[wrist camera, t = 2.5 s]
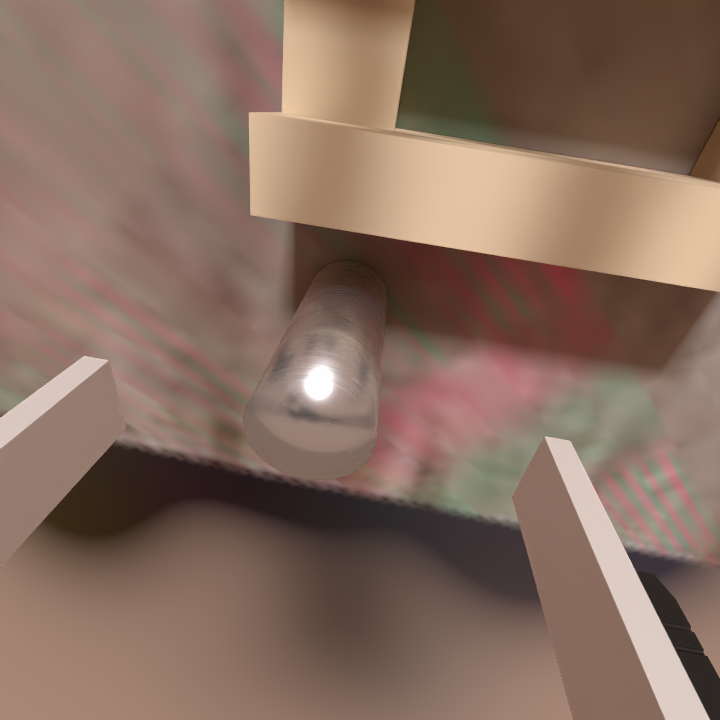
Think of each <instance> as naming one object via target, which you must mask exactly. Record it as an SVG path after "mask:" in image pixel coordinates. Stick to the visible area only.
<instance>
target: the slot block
mask: <svg viewBox="0 0 720 720" xmlns="http://www.w3.org/2000/svg"><path fill="white" fill-rule="evenodd" d="M415 1H416V0H284V37H283V81H282V112H249V147H250V208H251V215H253V216H259V217H266V218H272V219H278V220H284V221H290V222H296V223H302V224H308V225H314V226H320V227H327V228H333V229H339V230H345V231H351V232H357V233H363V234H369V235H375V236H381V237H388V238H394V239H400V240H406V241H412V242H418V243H424V244H430V245H436V246H442V247H449V248H455V249H461V250H467V251H473V252H479V253H485V254H491V255H497V256H503V257H510V258H516V259H522V260H528V261H534V262H540V263H546V264H552V265H558V266H564V267H571V268H577V269H583V270H589V271H595V272H601V273H607V274H613V275H619V276H625V277H632V278H638V279H644V280H650V281H656V282H662V283H668V284H674V285H680V286H686V287H693V288H699V289H705V290H711V291H717V292H720V119H719V121H718V123H717V125H716V127H715V129H714V130H713V132H712V134H711V136H710V138H709V140H708V141H707V143H706V145H705V147H704V149H703V151H702V152H701V154H700V156H699V158H698V160H697V162H696V163H695V165H694V167H693V169H692V171H691V173H690V174H689V176H688V175H682V174H676V173H670V172H664V171H657V170H651V169H645V168H639V167H633V166H627V165H621V164H614V163H608V162H602V161H596V160H590V159H584V158H578V157H571V156H565V155H559V154H553V153H547V152H541V151H535V150H529V149H522V148H516V147H510V146H504V145H498V144H492V143H486V142H479V141H473V140H467V139H461V138H455V137H449V136H443V135H436V134H430V133H424V132H418V131H412V130H406V129H400V128H395V127H396V120H397V114H398V108H399V102H400V95H401V89H402V83H403V76H404V70H405V64H406V58H407V51H408V45H409V39H410V33H411V26H412V20H413V14H414V8H415Z"/></svg>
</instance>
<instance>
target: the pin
mask: <svg viewBox="0 0 720 720" xmlns="http://www.w3.org/2000/svg"><path fill="white" fill-rule="evenodd" d="M386 310H387V291H386V288H385V285H384V283H383V281H382V280H381V278H380V277H379V275H378V274H377V273H376V272H375V271H374V270H372V269H371V268H370V267H368V266H366V265H364V264H362V263H359V262H355V261H348V260H346V261H337V262H334V263H331V264H329V265H327V266H325V267H324V268H323V269H321V270H320V271H319V272H318V273H317V275H316V276H315V278H314V279H313V281H312V283H311V285H310V287H309V289H308V291H307V292H306V294H305V296H304V298H303V300H302V302H301V304H300V306H299V308H298V310H297V311H296V313H295V315H294V317H293V319H292V321H291V323H290V325H289V327H288V328H287V330H286V332H285V334H284V336H283V338H282V340H281V342H280V344H279V345H278V347H277V349H276V351H275V353H274V355H273V357H272V359H271V361H270V362H269V364H268V366H267V368H266V370H265V372H264V374H263V376H262V378H261V380H260V381H259V383H258V385H257V387H256V389H255V391H254V393H253V395H252V397H251V398H250V400H249V402H248V404H247V406H246V409H245V411H244V416H243V428H244V433H245V436H246V438H247V440H248V443H249V444H250V446H251V447H252V449H253V450H254V451H255V452H256V454H257V455H258V456H259V457H260V458H262V459H263V460H264V461H265V462H266V463H268V464H269V465H271V466H272V467H274V468H276V469H278V470H280V471H282V472H284V473H286V474H289V475H292V476H295V477H299V478H304V479H311V480H329V479H335V478H339V477H343V476H346V475H348V474H351V473H353V472H354V471H356V470H358V469H359V468H361V467H362V466H363V465H364V464H365V463H366V462H367V461H368V459H369V458H370V457H371V455H372V453H373V451H374V448H375V443H376V433H377V421H378V409H379V397H380V384H381V372H382V360H383V347H384V335H385V323H386Z"/></svg>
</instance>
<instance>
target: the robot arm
mask: <svg viewBox="0 0 720 720" xmlns="http://www.w3.org/2000/svg"><path fill="white" fill-rule="evenodd" d="M125 429H126V426H125V422H124V418H123V414H122V410H121V406H120V402H119V398H118V394H117V390H116V386H115V382H114V378H113V374H112V370H111V366H110V362H109V360H104V359H98V358H93V357H87V356H83V357H82V358H81V359H79V360H78V361H77V362H75V363H74V364H73V365H71V366H70V367H69V368H67V369H66V370H65V371H63V372H62V373H60V374H59V375H58V376H56V377H55V378H54V379H52V380H51V381H50V382H48V383H47V384H46V385H44V386H43V387H41V388H40V389H39V390H37V391H36V392H35V393H33V394H32V395H31V396H29V397H28V398H27V399H25V400H24V401H23V402H21V403H20V404H18V405H17V406H16V407H14V408H13V409H12V410H10V411H9V412H8V413H6V414H5V415H4V416H2V417H1V418H0V567H1V566H2V565H3V564H4V563H5V562H6V561H7V560H8V558H9V557H10V556H11V555H12V554H13V553H14V552H15V550H17V548H18V547H19V546H20V545H21V544H22V543H23V542H24V541H25V540H26V538H27V537H28V536H29V535H30V534H31V533H32V532H33V531H34V530H35V529H36V527H37V526H38V525H39V524H40V523H41V522H42V521H43V520H44V519H45V518H46V516H47V515H48V514H49V513H50V512H51V511H52V510H53V509H54V507H55V506H56V505H57V504H58V503H59V502H60V501H61V500H62V499H63V498H64V496H65V495H66V494H67V493H68V492H69V491H70V490H71V489H72V488H73V487H74V485H75V484H76V483H77V482H78V481H79V480H80V479H81V478H82V477H83V476H84V474H85V473H86V472H87V471H88V470H89V469H90V468H91V467H92V466H93V464H94V463H95V462H96V461H97V460H98V459H99V458H100V457H101V456H102V455H103V453H104V452H105V451H106V450H107V449H108V448H109V447H110V446H111V445H112V444H113V442H114V441H115V440H116V439H117V438H118V437H119V436H120V435H121V434H122V432H123V431H124V430H125ZM512 498H513V502H514V505H515V509H516V513H517V516H518V520H519V524H520V527H521V531H522V535H523V538H524V542H525V546H526V549H527V553H528V556H529V560H530V564H531V568H532V571H533V574H534V578H535V582H536V586H537V589H538V593H539V597H540V600H541V604H542V607H543V611H544V614H545V619H546V622H547V626H548V630H549V633H550V637H551V640H552V644H553V648H554V651H555V655H556V659H557V662H558V666H559V670H560V673H561V677H562V680H563V684H564V688H565V692H566V695H567V699H568V702H569V706H570V710H571V713H572V717H573V720H720V678H719V677H718V675H717V673H716V671H715V669H714V667H713V666H712V664H711V662H710V660H709V658H708V657H707V656H705V655H704V653H703V651H704V650H703V648H702V646H701V644H700V642H699V640H698V639H697V637H696V635H695V633H694V632H692V631H691V629H690V628H691V626H690V624H689V623H688V621H687V619H686V617H685V615H684V613H683V612H682V610H681V608H680V606H679V605H678V603H677V601H676V599H675V598H674V597H673V596H672V594H671V593H670V592H669V591H668V590H667V589H666V588H665V586H664V585H663V584H662V583H661V582H660V581H659V580H658V579H657V577H656V576H655V575H654V574H649V573H644V572H638V571H635V569H634V567H633V565H632V563H631V561H630V559H629V557H628V555H627V553H626V551H625V549H624V547H623V545H622V543H621V541H620V539H619V537H618V535H617V533H616V531H615V529H614V527H613V525H612V523H611V521H610V519H609V517H608V515H607V513H606V511H605V509H604V507H603V505H602V503H601V501H600V499H599V497H598V495H597V493H596V491H595V489H594V487H593V485H592V483H591V481H590V479H589V477H588V475H587V473H586V471H585V469H584V467H583V465H582V463H581V461H580V459H579V457H578V455H577V453H576V451H575V449H574V447H573V445H572V443H571V441H569V440H563V439H557V438H551V437H546V436H544V438H543V440H542V442H541V444H540V445H539V447H538V449H537V451H536V453H535V455H534V457H533V459H532V460H531V462H530V464H529V466H528V468H527V470H526V472H525V474H524V476H523V477H522V479H521V481H520V483H519V485H518V487H517V489H516V491H515V492H514V494H513V496H512Z"/></svg>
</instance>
